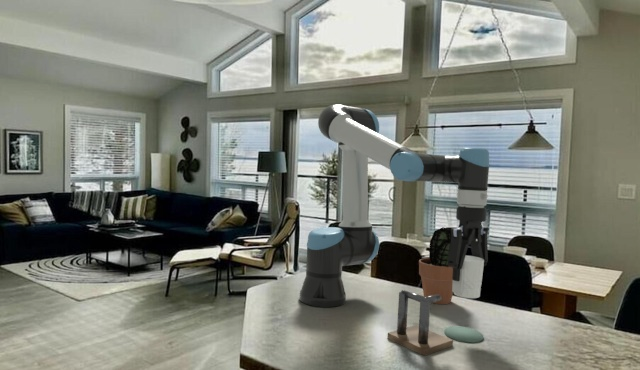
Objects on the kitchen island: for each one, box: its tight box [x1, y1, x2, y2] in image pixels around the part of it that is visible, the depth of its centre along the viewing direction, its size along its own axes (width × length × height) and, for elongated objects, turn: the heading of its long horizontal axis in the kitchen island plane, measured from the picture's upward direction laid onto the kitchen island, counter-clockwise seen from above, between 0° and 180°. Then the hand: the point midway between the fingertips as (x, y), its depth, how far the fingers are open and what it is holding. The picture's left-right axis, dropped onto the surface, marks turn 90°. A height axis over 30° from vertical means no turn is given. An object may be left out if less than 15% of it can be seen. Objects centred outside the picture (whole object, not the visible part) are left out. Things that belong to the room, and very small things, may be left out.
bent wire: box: [396, 289, 441, 345], centre depth 112 cm, size 9×7×11 cm
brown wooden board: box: [387, 324, 454, 356], centre depth 112 cm, size 12×11×2 cm
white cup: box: [453, 254, 485, 299], centre depth 117 cm, size 8×8×10 cm
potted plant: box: [418, 227, 454, 305], centre depth 149 cm, size 14×14×25 cm
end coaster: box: [443, 325, 484, 344], centre depth 118 cm, size 10×10×1 cm
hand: (466, 290), depth 118 cm, fingers closed on white cup, 8 cm apart
